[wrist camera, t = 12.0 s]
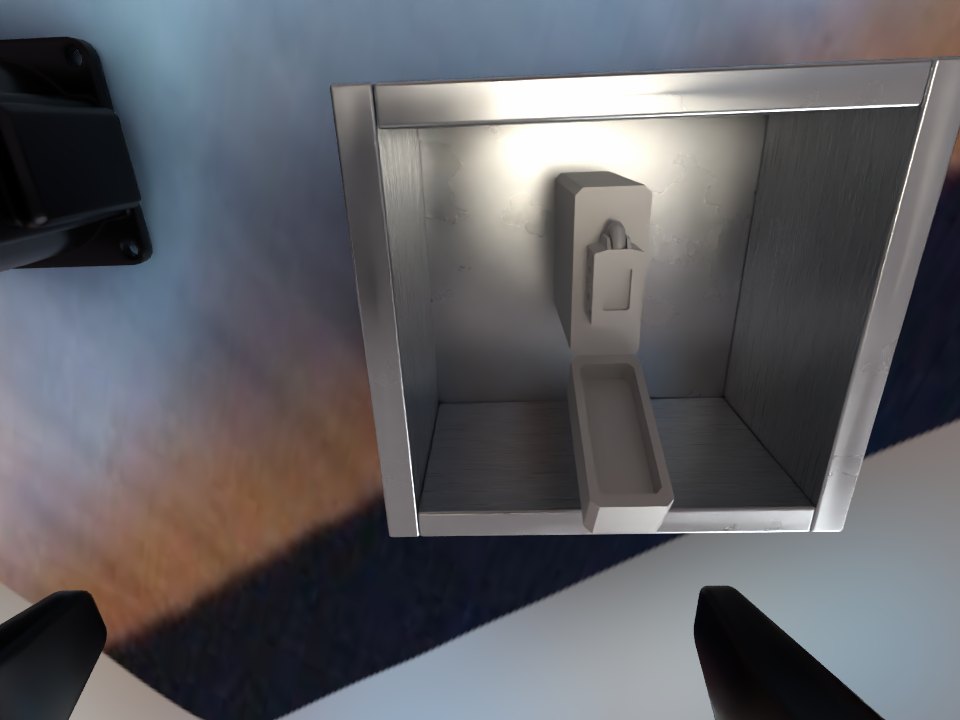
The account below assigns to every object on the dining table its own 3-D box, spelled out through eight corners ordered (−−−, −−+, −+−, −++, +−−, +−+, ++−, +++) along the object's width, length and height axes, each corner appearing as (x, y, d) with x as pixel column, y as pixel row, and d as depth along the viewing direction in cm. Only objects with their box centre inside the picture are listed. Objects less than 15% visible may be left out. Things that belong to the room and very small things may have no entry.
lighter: (555, 172, 16) (607, 211, 9) (614, 170, 16) (716, 208, 9) (552, 386, 19) (588, 551, 11) (601, 385, 19) (670, 551, 11)
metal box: (421, 411, 20) (388, 537, 14) (393, 101, 16) (328, 84, 10) (733, 405, 20) (842, 532, 14) (787, 83, 16) (983, 54, 9)
